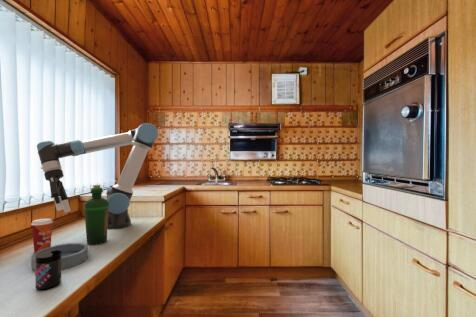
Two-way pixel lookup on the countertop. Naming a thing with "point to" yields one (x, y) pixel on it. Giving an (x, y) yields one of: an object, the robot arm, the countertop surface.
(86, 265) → the countertop surface
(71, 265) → the bowl
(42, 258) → the supplement container
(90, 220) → the bottle
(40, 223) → the paper cup
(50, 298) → the countertop surface
